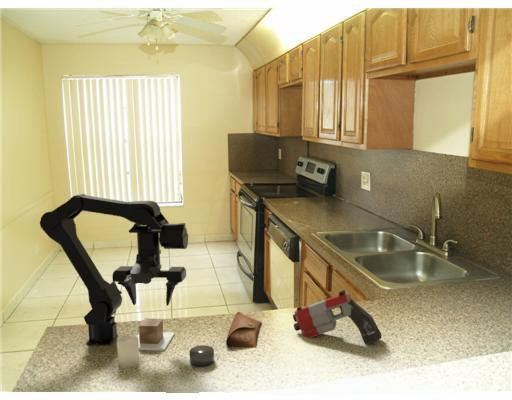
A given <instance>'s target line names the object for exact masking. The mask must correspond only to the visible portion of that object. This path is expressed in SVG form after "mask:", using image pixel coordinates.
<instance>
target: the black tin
mask: <svg viewBox="0 0 512 400" xmlns="http://www.w3.org/2000/svg"><path fill="white" fill-rule="evenodd" d="M214 362H215V349H214V348H213V347H212V346H210V345H207V344H206V345H196V346H193V347H191V348H190V349H189V365H190V366H192V367H194V368H203V369H204V368H207V367H210V366H212V365H213V364H214Z"/></svg>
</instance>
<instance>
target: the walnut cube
mask: <svg viewBox="0 0 512 400" xmlns="http://www.w3.org/2000/svg"><path fill="white" fill-rule="evenodd" d="M163 322H164V321H163V318H144V319H143V320H142V321H141V322H140V324H139V325H138V334H139V340H140V343H143V344H158V343H159V341H160V340H161V339H162V337H163V332H164V323H163Z"/></svg>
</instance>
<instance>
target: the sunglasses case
mask: <svg viewBox="0 0 512 400" xmlns="http://www.w3.org/2000/svg"><path fill="white" fill-rule="evenodd" d="M262 322H263V321H260V320H257V319H255V318H252V317H250V316H248V315H245V314H243V313H242V312H240V311H237V312H236V313H235V316H234V317H233V320H232V322H231V325H230V327H229V330H228V333H227V336H226V340H225V342H226V344H225V345H226V347H228V348H243V349H244V348H245V349H247V348H249V349H250V348H255V349H256V348H257V337H258V333H259V330H260V327H261V325H262Z"/></svg>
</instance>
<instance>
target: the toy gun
mask: <svg viewBox="0 0 512 400" xmlns="http://www.w3.org/2000/svg"><path fill="white" fill-rule="evenodd" d="M337 308H338V309H340V312H339V313H335V314H334V311H333V310H335V309H337ZM346 317H348V318H349V319H351V321H352V322H353V323H354V325H355V326H356V328H357V329H358V331H359V333H360V336H361V338H362V340H363V343H364V344H366V345H367V344H369V345H370V344H372V343H377V342H378V341H380V340H382V332H381V330H380V328H379V327H378V324H377V323H376V322H375V320H374V318H373V316H372V315H371V314H369V313H368V312H367V311H366V310H365V309H364V308H363V307H362V306H361V305H359V304H358V303H356V302H355V300H353V299H352V296H351V294H350V292H349V291H346V290H344V289H343V290H341V291H338V293H337V295H335V296H331V297H329V298H326V299H323V300H320V301H317V302H315V303H312V304H310V305H307V306H303V307H302V306H299V307H297V308H296V310H295V311H294V313H293V315H292V318H293V321H294V322H295V323H294V324H293V329H294V330H295V332H297V331H300V332H301V333H300V334H301V337H302V338H306V339H311V338H313V337H316V336H320V335H322V334H325V333H328V332H331V331H334V330H335V329H336V326H337V320H339V319H343V318H346Z"/></svg>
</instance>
